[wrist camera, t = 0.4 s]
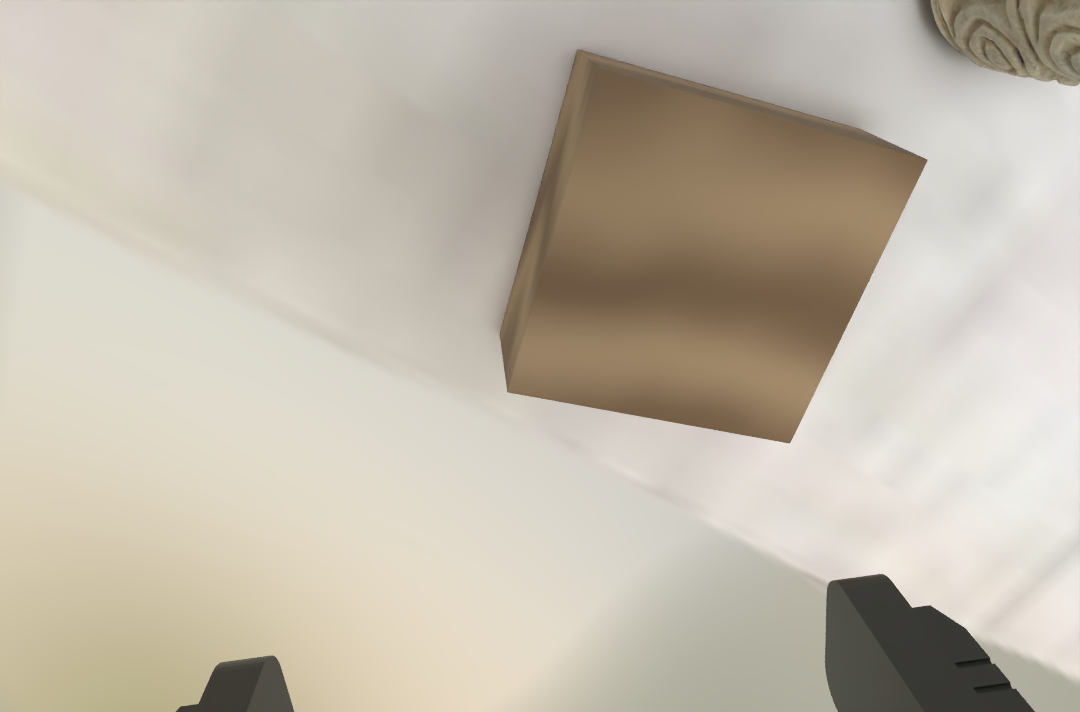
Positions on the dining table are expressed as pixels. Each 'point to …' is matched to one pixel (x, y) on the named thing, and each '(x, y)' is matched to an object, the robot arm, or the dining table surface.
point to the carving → (1016, 35)
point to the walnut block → (695, 251)
